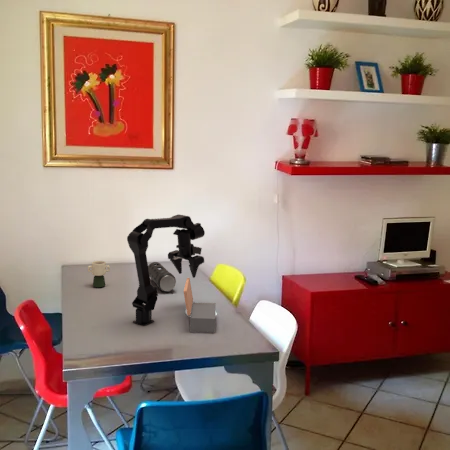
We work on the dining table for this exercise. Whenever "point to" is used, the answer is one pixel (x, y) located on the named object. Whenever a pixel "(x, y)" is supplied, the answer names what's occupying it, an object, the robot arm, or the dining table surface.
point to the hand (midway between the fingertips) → (187, 275)
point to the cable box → (203, 318)
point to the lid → (188, 296)
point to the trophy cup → (98, 272)
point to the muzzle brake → (161, 277)
